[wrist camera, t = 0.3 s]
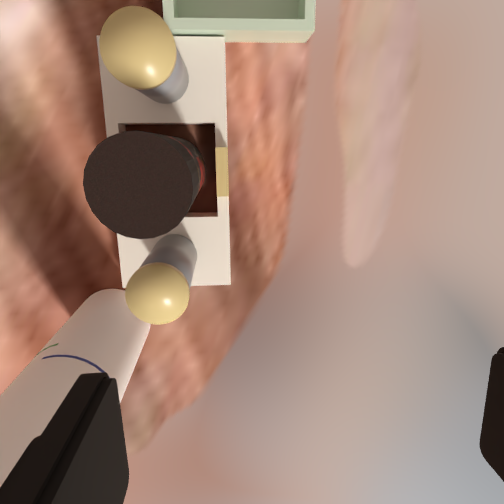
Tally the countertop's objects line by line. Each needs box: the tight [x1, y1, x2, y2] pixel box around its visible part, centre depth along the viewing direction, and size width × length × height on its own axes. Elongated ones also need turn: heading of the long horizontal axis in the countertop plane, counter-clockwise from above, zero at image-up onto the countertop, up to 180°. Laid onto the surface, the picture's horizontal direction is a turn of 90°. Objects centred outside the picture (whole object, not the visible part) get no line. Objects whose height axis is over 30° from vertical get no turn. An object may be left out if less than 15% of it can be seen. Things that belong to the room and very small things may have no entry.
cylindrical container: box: [0, 289, 150, 487], centre depth 27 cm, size 7×7×25 cm
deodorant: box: [83, 131, 206, 239], centre depth 28 cm, size 6×6×15 cm
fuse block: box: [96, 6, 231, 324], centre depth 30 cm, size 21×10×12 cm, turn 0°
